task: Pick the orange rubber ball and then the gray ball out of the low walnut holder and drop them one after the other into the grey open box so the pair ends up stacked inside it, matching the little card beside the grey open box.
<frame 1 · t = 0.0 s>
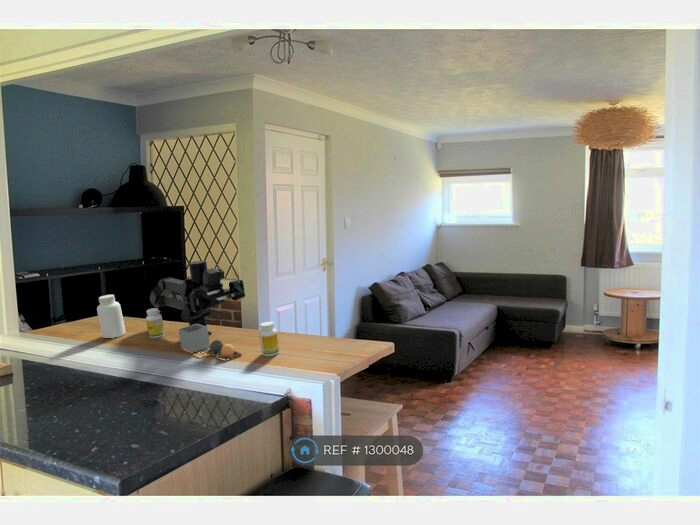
hand: (232, 298, 174), 17 cm above the counter, tool horizontal, fingers open, 9 cm apart
supplement bottle 2: (157, 336, 200), on the counter
target card: (199, 355, 175), on the counter
grey open box: (195, 348, 182), on the counter
holder: (222, 354, 174), on the counter
orange ball: (228, 356, 171), resting in holder
pill bottle: (114, 336, 205), on the counter
supplement bottle: (270, 354, 170), on the counter
gray ball: (217, 352, 176), resting in holder
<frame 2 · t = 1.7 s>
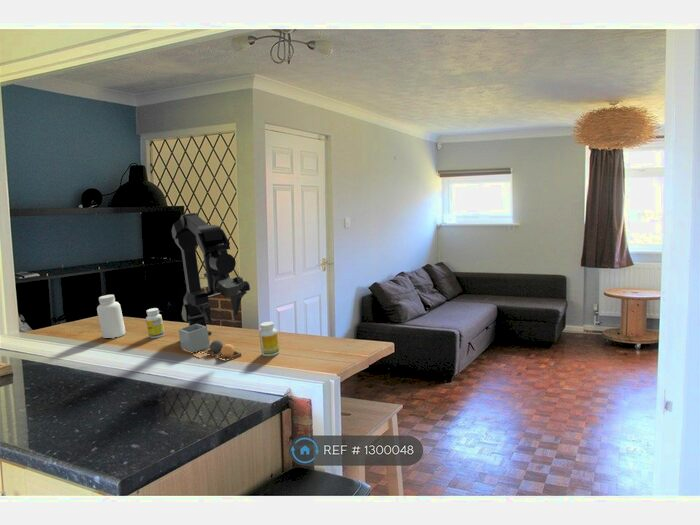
hand: (223, 319, 169), 12 cm above the counter, tool pointing down, fingers open, 9 cm apart
nothing on the counter moved.
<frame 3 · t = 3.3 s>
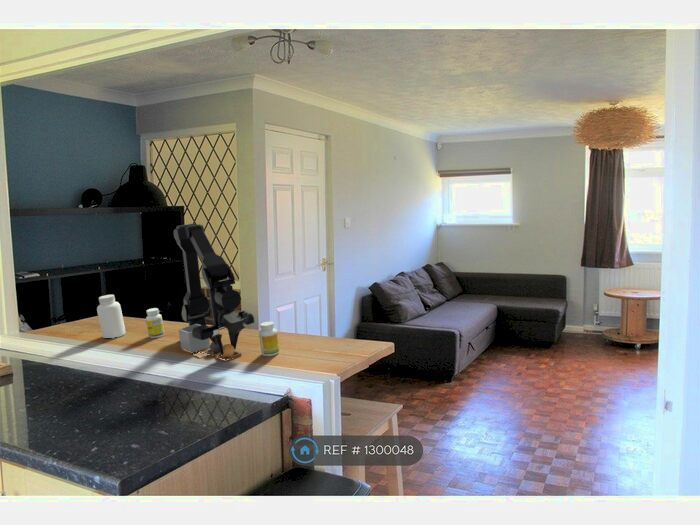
hand: (228, 352, 171), 2 cm above the counter, tool pointing down, fingers closed on orange ball, 4 cm apart
orange ball: (228, 356, 171), resting in holder, touching gripper
everything else where it was.
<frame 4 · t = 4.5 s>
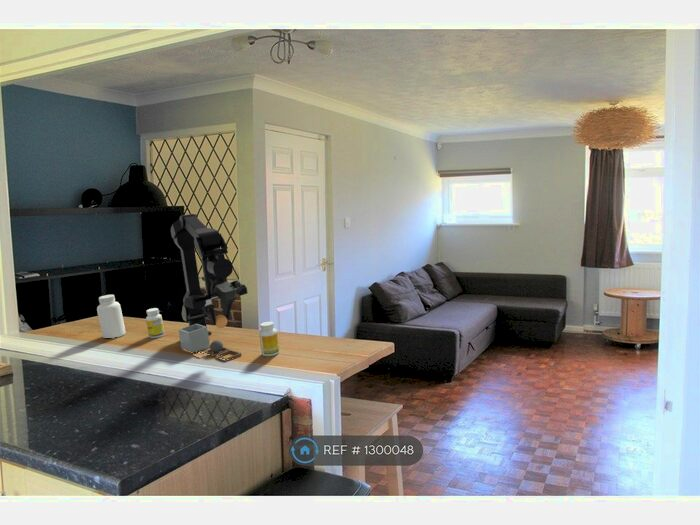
hand: (220, 322, 170), 11 cm above the counter, tool pointing down, fingers closed on orange ball, 4 cm apart
orange ball: (221, 327, 170), point 9 cm above the counter, touching gripper
everything else where it was.
when the fingers open (9 cm above the counter, at t = 6.0 s): orange ball drops 8 cm, resting in grey open box.
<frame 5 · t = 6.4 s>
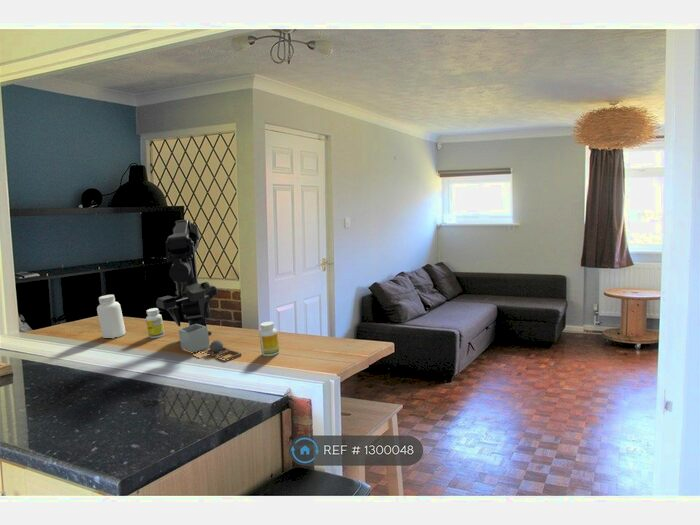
hand: (191, 322, 180), 9 cm above the counter, tool pointing down, fingers open, 8 cm apart
orange ball: (196, 348, 182), resting in grey open box
everything else where it was.
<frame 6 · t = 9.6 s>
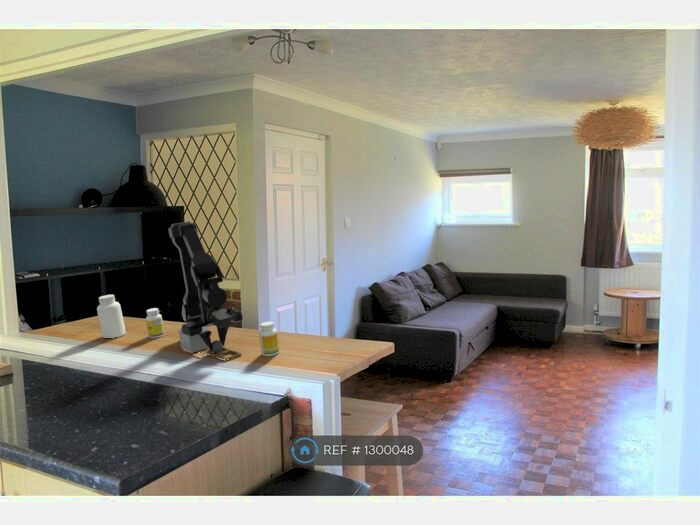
hand: (216, 348, 175), 2 cm above the counter, tool pointing down, fingers closed on gray ball, 4 cm apart
gray ball: (217, 352, 176), resting in holder, touching gripper
everything else where it was.
when the fingers open (9 cm above the counter, at t = 11.9 s): gray ball drops 3 cm and tips over, resting on orange ball, grey open box.
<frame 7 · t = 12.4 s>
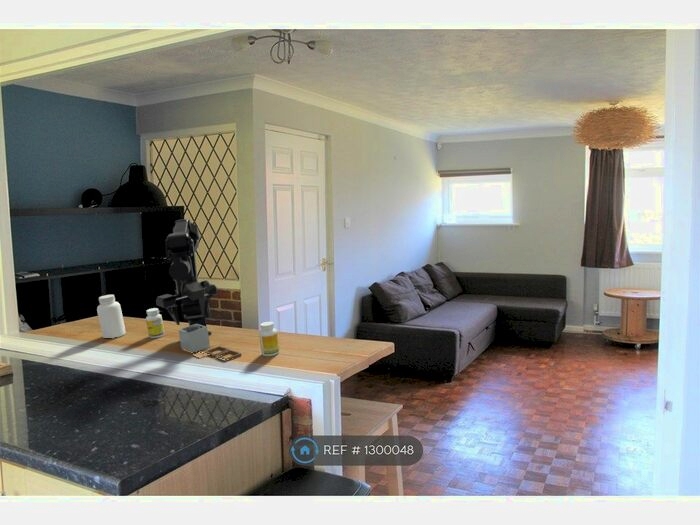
hand: (191, 320, 180), 9 cm above the counter, tool pointing down, fingers open, 9 cm apart
orange ball: (195, 348, 182), resting in grey open box, tilted 24°, touching gray ball
gray ball: (191, 336, 180), point 5 cm above the counter, tilted 60°, touching orange ball, grey open box
everything else where it was.
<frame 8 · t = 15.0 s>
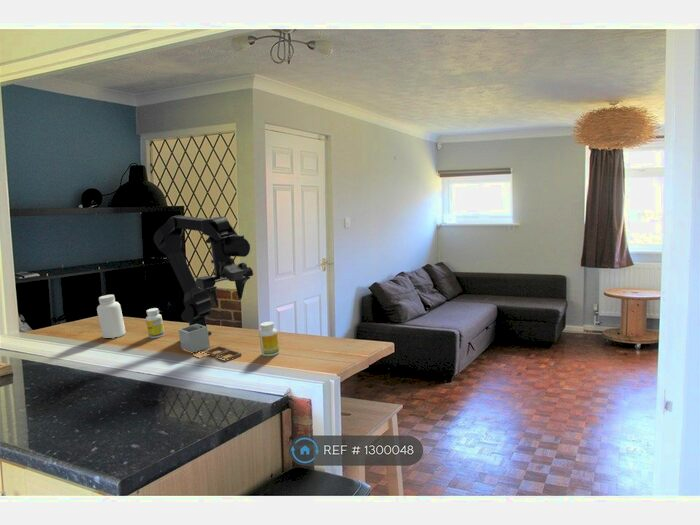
hand: (228, 302, 184), 13 cm above the counter, tool pointing down, fingers open, 9 cm apart
nothing on the counter moved.
at the end: orange ball 0.0 cm off-centre on the grey open box, point 0.1 cm above the grey open box's base; gray ball 0.9 cm off-centre on the grey open box, point 4.6 cm above the grey open box's base; the gripper is holding nothing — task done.
